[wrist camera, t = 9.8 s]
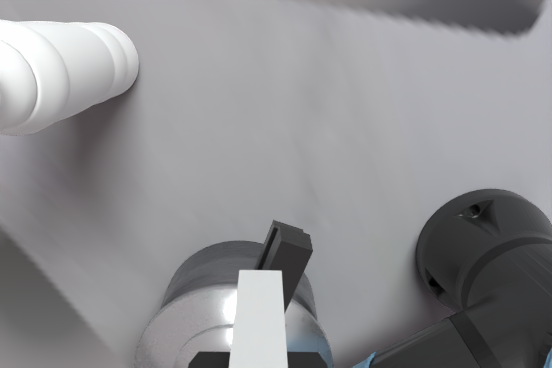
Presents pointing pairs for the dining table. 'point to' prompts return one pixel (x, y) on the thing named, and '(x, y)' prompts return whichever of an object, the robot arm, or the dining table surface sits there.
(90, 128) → the dining table surface
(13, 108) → the water bottle
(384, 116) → the dining table surface
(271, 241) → the pot
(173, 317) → the lid
